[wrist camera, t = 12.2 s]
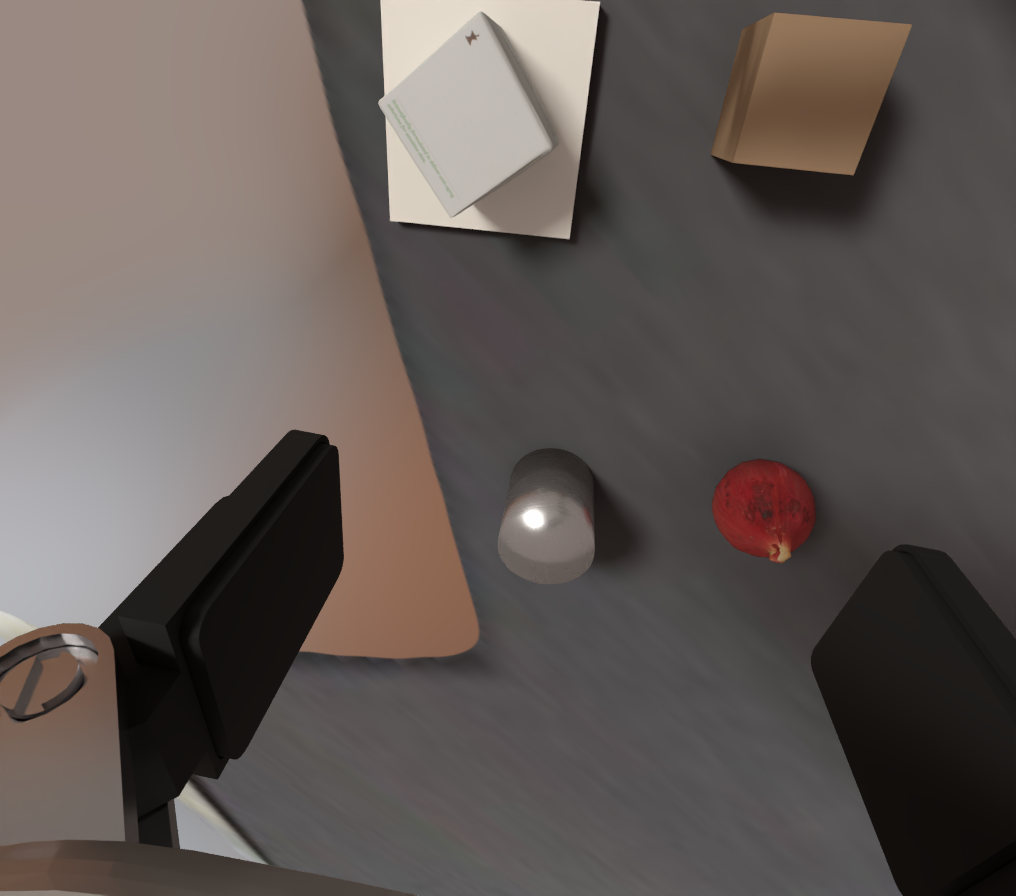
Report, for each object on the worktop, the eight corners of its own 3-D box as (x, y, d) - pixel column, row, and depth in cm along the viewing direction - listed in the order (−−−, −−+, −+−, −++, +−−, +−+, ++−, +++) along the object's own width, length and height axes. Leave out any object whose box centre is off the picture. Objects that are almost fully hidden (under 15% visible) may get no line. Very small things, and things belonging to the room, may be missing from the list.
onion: (695, 448, 36) (720, 526, 29) (788, 427, 34) (837, 505, 27) (710, 514, 39) (736, 599, 32) (797, 498, 37) (843, 584, 30)
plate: (385, -11, 25) (380, -15, 24) (599, 4, 24) (600, 1, 24) (394, 218, 30) (390, 220, 30) (569, 236, 30) (569, 239, 29)
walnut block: (742, 29, 24) (774, 12, 20) (855, 39, 24) (912, 24, 20) (710, 154, 27) (732, 162, 23) (811, 165, 27) (853, 175, 22)
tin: (514, 443, 37) (500, 505, 32) (600, 454, 37) (602, 519, 31) (508, 509, 41) (494, 576, 35) (586, 520, 40) (586, 590, 34)
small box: (405, 101, 27) (372, 100, 22) (501, 21, 24) (484, 3, 20) (470, 207, 29) (450, 224, 25) (563, 142, 27) (558, 148, 23)
